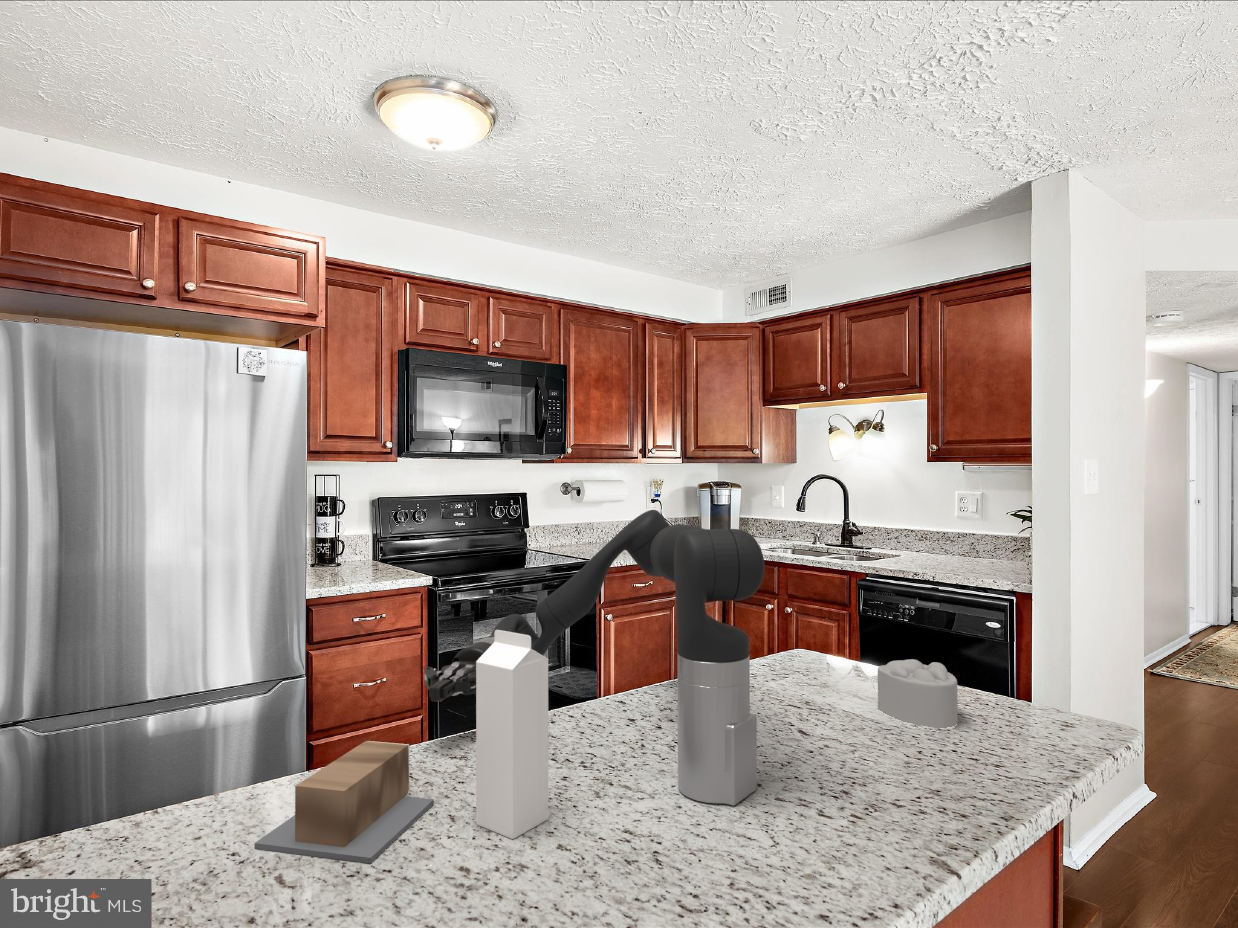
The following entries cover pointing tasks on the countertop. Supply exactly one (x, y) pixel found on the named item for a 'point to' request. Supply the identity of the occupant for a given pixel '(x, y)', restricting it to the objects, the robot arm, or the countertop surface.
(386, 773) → the light wood block
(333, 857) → the mat
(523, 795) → the milk
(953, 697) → the lumpy-topped squat cylinder
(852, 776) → the countertop surface
